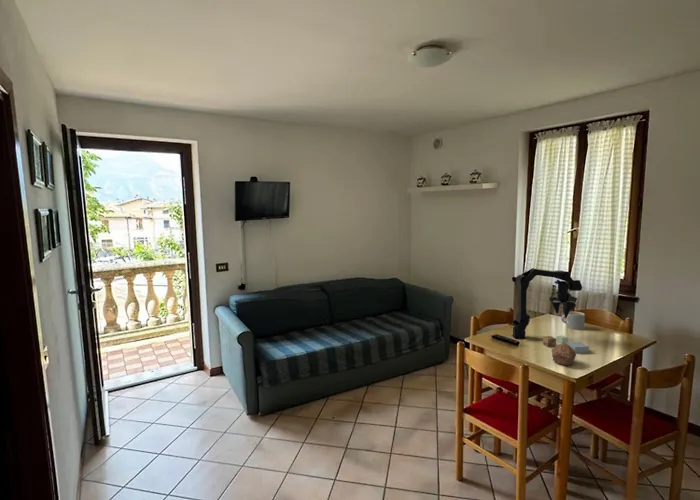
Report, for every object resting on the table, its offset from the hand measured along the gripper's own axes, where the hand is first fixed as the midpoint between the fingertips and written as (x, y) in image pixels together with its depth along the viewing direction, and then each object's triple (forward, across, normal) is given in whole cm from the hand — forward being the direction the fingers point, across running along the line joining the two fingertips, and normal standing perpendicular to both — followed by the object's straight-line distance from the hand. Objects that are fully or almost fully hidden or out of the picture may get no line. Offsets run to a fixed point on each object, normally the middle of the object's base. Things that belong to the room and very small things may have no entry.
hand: (561, 315), depth 240 cm
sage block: (+14, -10, +5) cm, 18 cm away
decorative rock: (+15, -39, +23) cm, 48 cm away
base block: (+14, -23, +4) cm, 28 cm away
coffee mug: (+14, +18, -20) cm, 31 cm away
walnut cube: (+14, -14, +15) cm, 25 cm away
